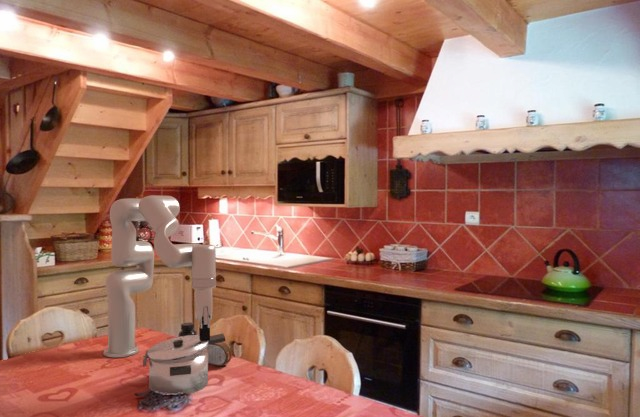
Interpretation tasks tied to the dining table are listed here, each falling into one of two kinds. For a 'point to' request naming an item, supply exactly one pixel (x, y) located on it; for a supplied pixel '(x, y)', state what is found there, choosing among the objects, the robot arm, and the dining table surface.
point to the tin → (219, 354)
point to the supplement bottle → (187, 329)
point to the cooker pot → (179, 374)
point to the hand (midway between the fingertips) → (204, 339)
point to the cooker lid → (180, 347)
